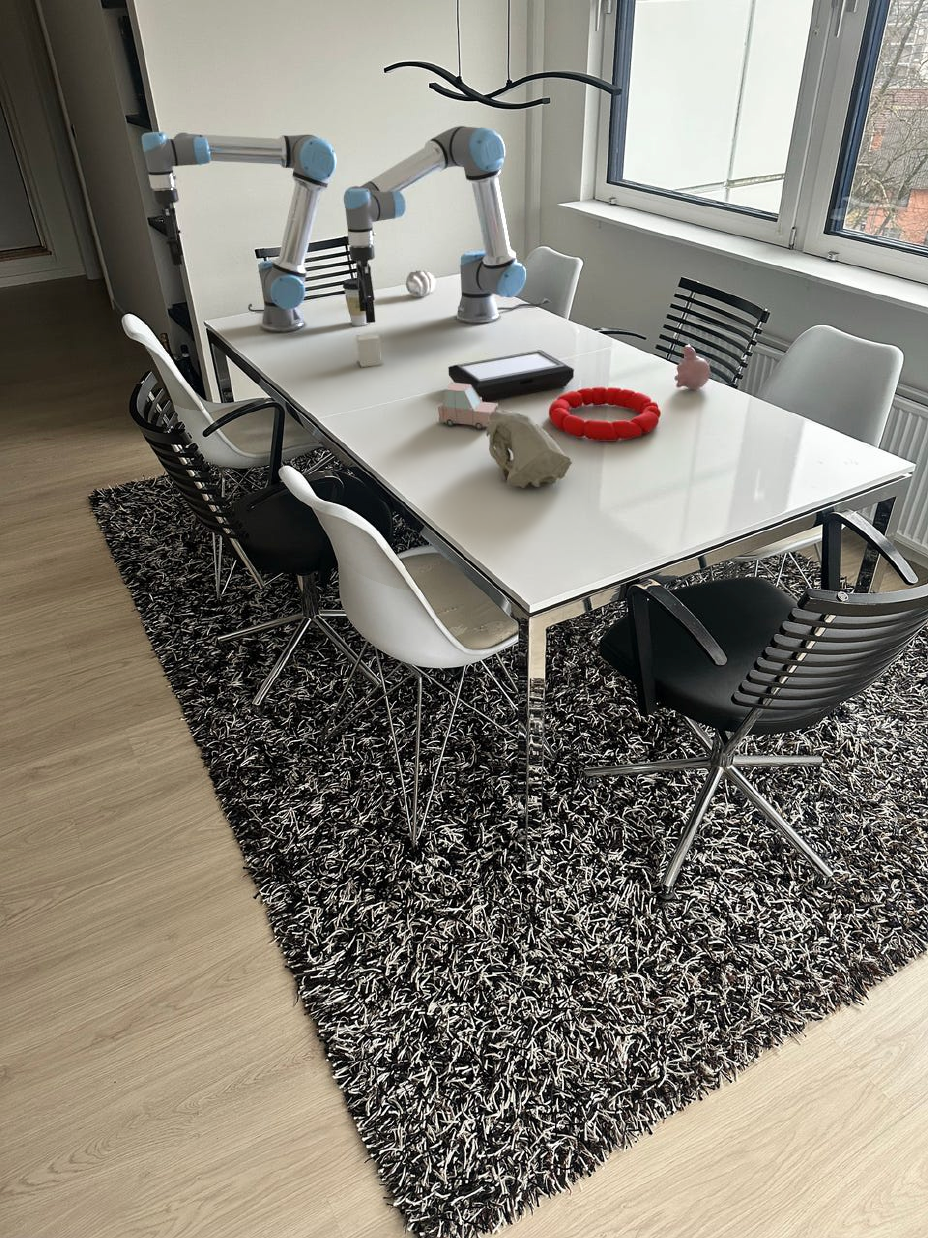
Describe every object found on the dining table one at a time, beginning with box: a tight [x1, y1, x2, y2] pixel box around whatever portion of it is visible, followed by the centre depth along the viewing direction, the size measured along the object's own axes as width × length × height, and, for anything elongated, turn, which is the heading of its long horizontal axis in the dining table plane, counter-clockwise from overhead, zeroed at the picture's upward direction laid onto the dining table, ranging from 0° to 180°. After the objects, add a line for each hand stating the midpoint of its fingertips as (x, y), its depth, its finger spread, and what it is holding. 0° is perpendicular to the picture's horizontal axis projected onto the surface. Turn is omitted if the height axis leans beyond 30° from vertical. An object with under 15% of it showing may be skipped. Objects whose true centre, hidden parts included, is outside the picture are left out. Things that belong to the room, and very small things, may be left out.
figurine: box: [674, 344, 711, 390], centre depth 259 cm, size 9×11×12 cm
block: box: [355, 332, 382, 368], centre depth 288 cm, size 6×6×9 cm
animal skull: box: [485, 409, 573, 489], centre depth 216 cm, size 17×25×20 cm
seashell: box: [405, 270, 436, 298], centre depth 352 cm, size 10×15×10 cm
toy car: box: [437, 382, 499, 431], centre depth 243 cm, size 9×15×10 cm, turn 70°
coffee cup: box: [342, 277, 370, 327], centre depth 323 cm, size 10×10×15 cm
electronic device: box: [448, 349, 575, 402], centre depth 267 cm, size 32×6×20 cm
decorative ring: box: [548, 386, 661, 442], centre depth 242 cm, size 7×30×30 cm
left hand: (178, 259), depth 290 cm, fingers open, 13 cm apart
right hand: (367, 316), depth 282 cm, fingers open, 13 cm apart
